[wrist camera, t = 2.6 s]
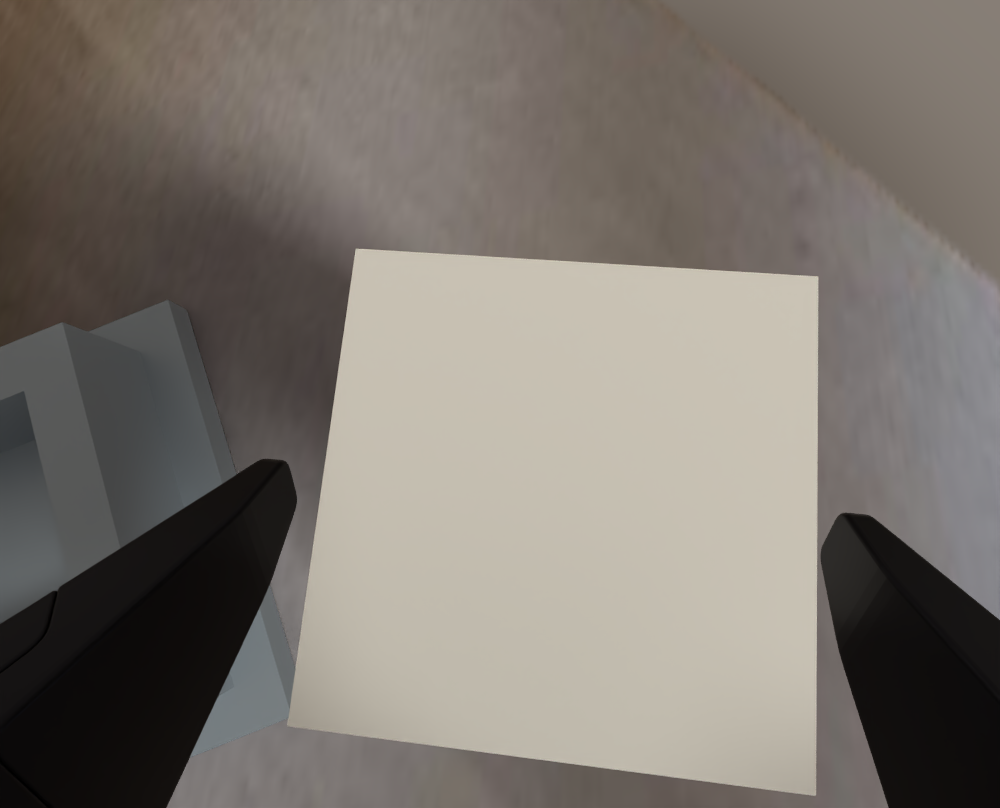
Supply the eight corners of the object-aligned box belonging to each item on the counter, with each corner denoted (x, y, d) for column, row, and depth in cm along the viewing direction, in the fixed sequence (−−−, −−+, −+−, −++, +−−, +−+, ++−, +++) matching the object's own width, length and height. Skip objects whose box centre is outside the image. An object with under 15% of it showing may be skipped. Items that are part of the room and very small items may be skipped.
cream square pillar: (635, 610, 17) (934, 936, 4) (443, 589, 17) (171, 825, 5) (645, 418, 18) (916, 192, 5) (463, 403, 18) (283, 163, 5)
